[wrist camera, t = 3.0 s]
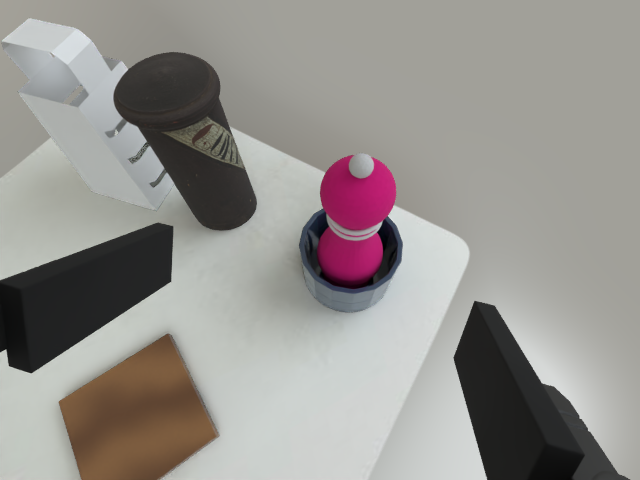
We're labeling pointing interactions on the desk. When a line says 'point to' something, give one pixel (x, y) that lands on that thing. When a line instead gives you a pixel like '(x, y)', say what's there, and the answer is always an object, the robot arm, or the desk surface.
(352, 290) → the pot
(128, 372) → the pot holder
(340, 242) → the pepper mill
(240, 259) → the desk surface
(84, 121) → the grater
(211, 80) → the container
